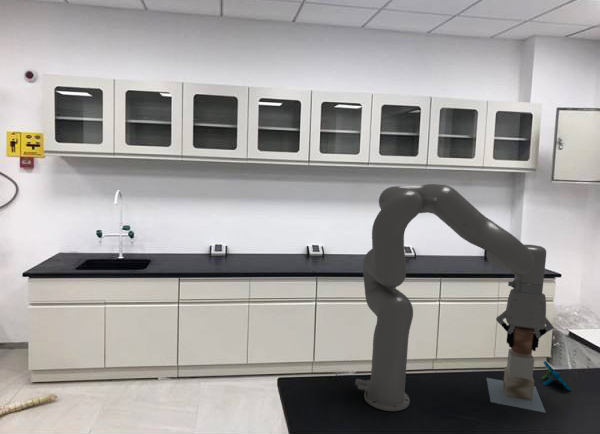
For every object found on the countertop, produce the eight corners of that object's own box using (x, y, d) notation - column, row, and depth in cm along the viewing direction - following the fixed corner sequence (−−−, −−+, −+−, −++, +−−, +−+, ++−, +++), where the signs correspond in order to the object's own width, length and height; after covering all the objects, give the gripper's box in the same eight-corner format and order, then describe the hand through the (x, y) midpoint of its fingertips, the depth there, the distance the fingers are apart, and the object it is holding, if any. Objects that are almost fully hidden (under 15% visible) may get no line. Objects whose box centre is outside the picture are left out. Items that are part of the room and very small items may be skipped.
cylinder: (512, 352, 129) (514, 329, 128) (509, 345, 134) (512, 323, 133) (533, 355, 127) (535, 332, 127) (530, 348, 132) (532, 326, 132)
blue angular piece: (577, 392, 132) (552, 364, 134) (560, 404, 133) (535, 376, 135) (565, 380, 142) (542, 355, 145) (550, 391, 144) (527, 366, 146)
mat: (490, 403, 126) (490, 401, 126) (486, 379, 141) (486, 377, 141) (545, 414, 122) (545, 412, 122) (535, 387, 137) (535, 386, 137)
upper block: (509, 376, 130) (511, 356, 129) (506, 367, 135) (508, 348, 135) (532, 380, 128) (534, 360, 127) (528, 371, 133) (530, 352, 133)
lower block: (505, 396, 130) (507, 376, 129) (503, 385, 137) (504, 366, 136) (532, 401, 128) (534, 381, 127) (528, 389, 134) (530, 371, 134)
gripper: (497, 286, 128) (491, 347, 130) (564, 294, 122) (557, 357, 124) (494, 281, 135) (489, 338, 137) (558, 288, 130) (551, 348, 131)
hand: (521, 347), depth 131 cm, fingers closed on cylinder, 5 cm apart
